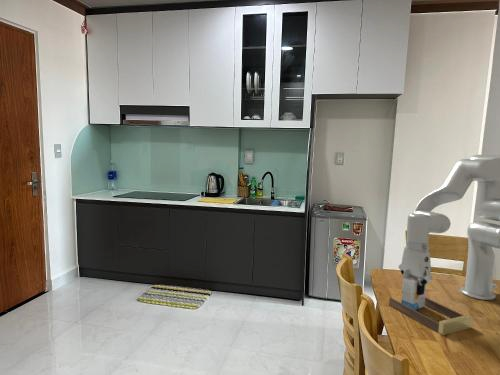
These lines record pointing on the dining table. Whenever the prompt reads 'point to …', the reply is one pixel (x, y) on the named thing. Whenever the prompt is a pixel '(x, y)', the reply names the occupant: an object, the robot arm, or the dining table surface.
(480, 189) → the robot arm
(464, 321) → the slide guide
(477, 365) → the dining table surface
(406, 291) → the ink box
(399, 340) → the dining table surface
